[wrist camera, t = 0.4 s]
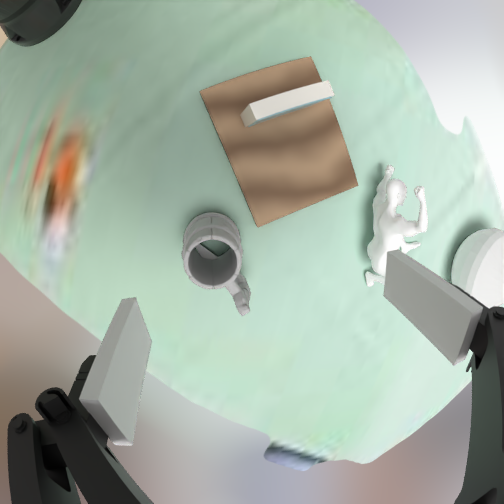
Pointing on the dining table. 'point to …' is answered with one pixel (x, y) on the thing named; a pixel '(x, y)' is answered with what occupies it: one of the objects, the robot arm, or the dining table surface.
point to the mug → (212, 267)
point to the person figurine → (392, 224)
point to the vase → (481, 266)
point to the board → (280, 142)
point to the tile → (286, 103)
